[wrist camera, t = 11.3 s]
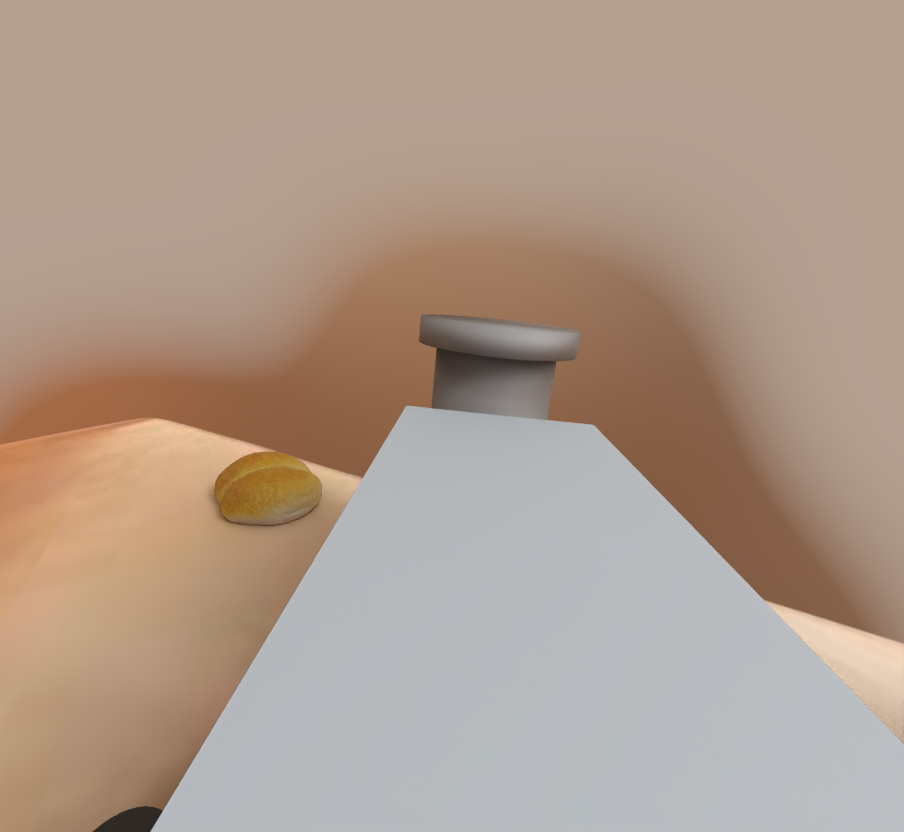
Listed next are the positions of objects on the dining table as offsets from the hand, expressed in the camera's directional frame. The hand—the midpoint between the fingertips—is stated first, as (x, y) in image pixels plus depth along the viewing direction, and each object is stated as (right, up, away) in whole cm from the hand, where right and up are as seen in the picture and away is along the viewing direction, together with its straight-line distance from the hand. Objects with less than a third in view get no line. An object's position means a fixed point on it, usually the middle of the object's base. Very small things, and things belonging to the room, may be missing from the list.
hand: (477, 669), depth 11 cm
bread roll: (-16, -1, +27) cm, 32 cm away
